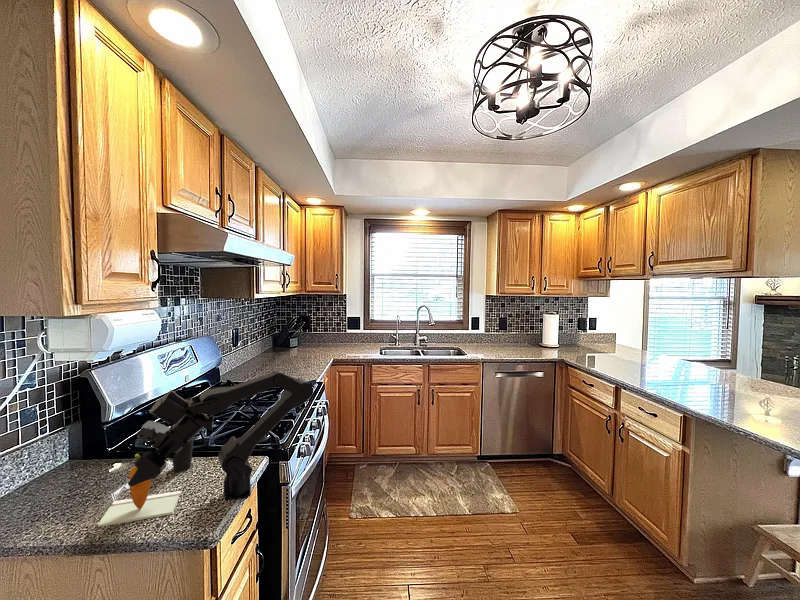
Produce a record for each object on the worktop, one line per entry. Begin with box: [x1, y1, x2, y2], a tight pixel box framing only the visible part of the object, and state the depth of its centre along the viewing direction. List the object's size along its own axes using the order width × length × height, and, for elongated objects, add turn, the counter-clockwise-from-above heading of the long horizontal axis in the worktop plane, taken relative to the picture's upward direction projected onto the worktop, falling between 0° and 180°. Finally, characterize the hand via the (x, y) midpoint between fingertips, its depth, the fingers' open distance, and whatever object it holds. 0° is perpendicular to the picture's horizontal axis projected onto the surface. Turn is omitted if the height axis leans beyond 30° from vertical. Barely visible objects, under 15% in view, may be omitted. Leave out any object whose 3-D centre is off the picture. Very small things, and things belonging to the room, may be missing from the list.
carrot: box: [128, 453, 152, 509], centre depth 97 cm, size 5×5×15 cm
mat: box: [97, 495, 180, 528], centre depth 97 cm, size 16×8×1 cm, turn 110°
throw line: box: [111, 490, 182, 506], centre depth 103 cm, size 16×2×1 cm, turn 110°
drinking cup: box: [168, 416, 195, 473], centre depth 119 cm, size 8×8×20 cm
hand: (138, 475), depth 97 cm, fingers open, 9 cm apart
